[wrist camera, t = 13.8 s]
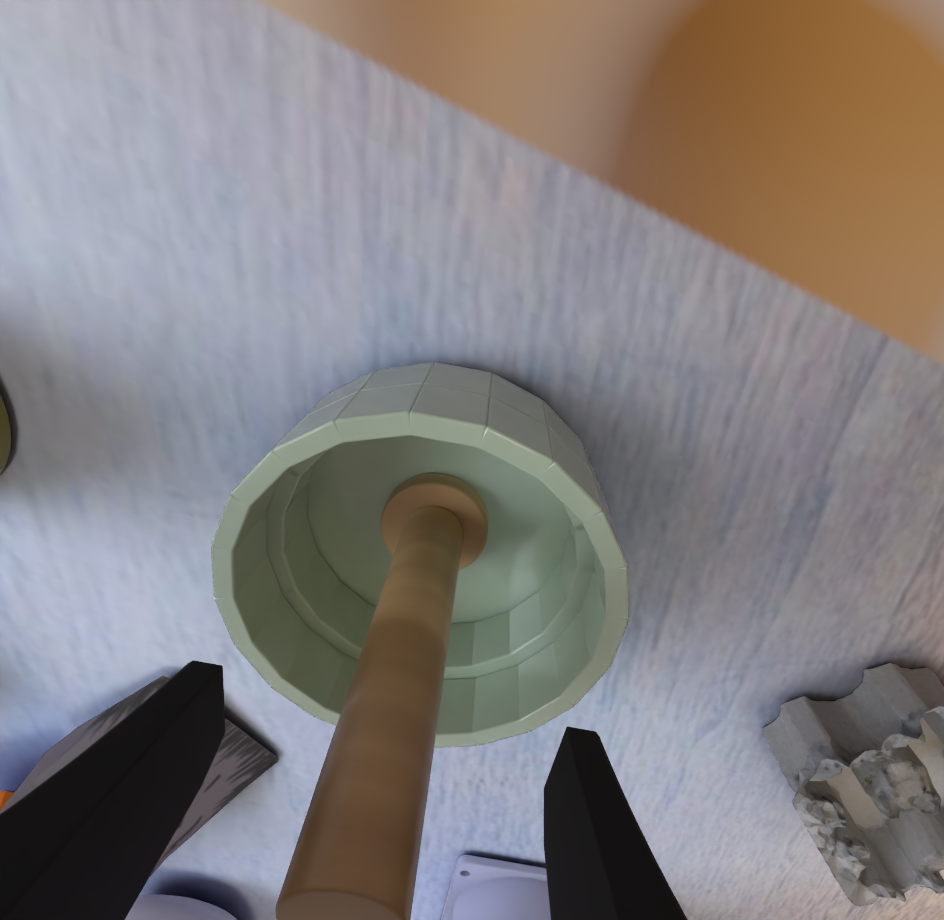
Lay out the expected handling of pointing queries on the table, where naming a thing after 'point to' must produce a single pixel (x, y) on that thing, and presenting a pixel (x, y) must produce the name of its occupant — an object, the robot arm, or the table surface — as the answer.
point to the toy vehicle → (222, 783)
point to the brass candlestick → (4, 435)
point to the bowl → (368, 559)
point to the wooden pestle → (388, 718)
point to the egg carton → (871, 780)
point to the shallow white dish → (175, 909)
